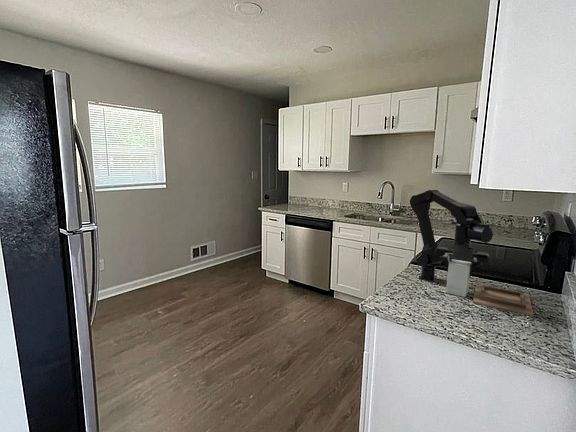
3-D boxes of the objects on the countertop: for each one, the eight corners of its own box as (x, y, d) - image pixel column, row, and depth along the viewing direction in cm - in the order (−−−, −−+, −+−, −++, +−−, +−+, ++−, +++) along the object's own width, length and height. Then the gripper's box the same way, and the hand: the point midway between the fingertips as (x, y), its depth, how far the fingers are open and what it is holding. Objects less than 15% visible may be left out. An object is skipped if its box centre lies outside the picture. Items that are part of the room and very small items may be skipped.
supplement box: (466, 297, 122) (469, 266, 120) (445, 292, 126) (448, 262, 124) (468, 291, 128) (472, 262, 126) (448, 287, 132) (451, 258, 130)
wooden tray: (475, 286, 134) (476, 281, 133) (528, 296, 124) (529, 291, 124) (472, 302, 117) (473, 297, 117) (533, 315, 107) (533, 310, 107)
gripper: (433, 237, 122) (430, 275, 124) (490, 244, 112) (485, 285, 114) (438, 232, 131) (435, 268, 134) (490, 238, 121) (486, 277, 123)
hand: (459, 274), depth 126 cm, fingers closed on supplement box, 7 cm apart
